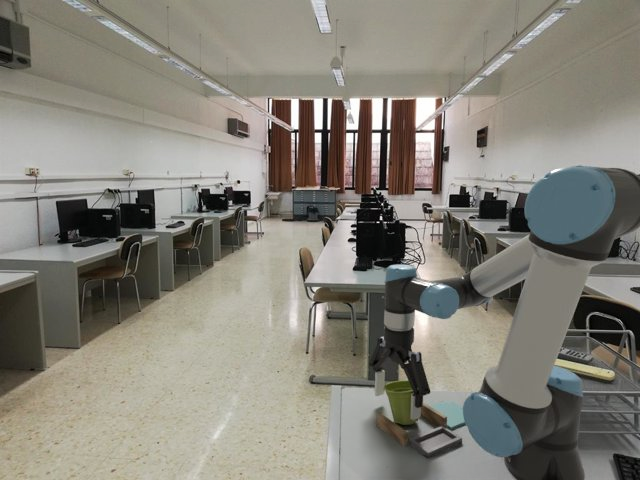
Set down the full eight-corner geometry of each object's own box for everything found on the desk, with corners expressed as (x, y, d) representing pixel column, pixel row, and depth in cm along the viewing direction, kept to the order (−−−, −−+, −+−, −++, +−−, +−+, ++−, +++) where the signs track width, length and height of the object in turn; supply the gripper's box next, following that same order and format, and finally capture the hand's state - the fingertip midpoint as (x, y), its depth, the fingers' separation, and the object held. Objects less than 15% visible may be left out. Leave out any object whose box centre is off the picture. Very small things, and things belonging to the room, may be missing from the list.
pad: (478, 418, 110) (478, 416, 110) (451, 429, 105) (451, 427, 105) (447, 401, 119) (447, 399, 119) (421, 411, 113) (421, 409, 113)
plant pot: (429, 425, 103) (424, 389, 103) (390, 429, 103) (386, 393, 104) (420, 412, 112) (416, 378, 113) (384, 416, 112) (381, 382, 113)
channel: (446, 428, 106) (447, 416, 105) (404, 445, 98) (404, 433, 98) (417, 409, 114) (417, 399, 114) (376, 425, 107) (376, 413, 106)
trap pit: (462, 442, 100) (462, 437, 100) (428, 458, 94) (428, 453, 94) (442, 430, 105) (442, 425, 105) (408, 443, 99) (409, 439, 99)
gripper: (448, 339, 99) (443, 424, 102) (378, 311, 120) (376, 382, 123) (424, 345, 95) (421, 434, 98) (357, 315, 116) (355, 389, 119)
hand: (396, 405), depth 111 cm, fingers open, 13 cm apart
